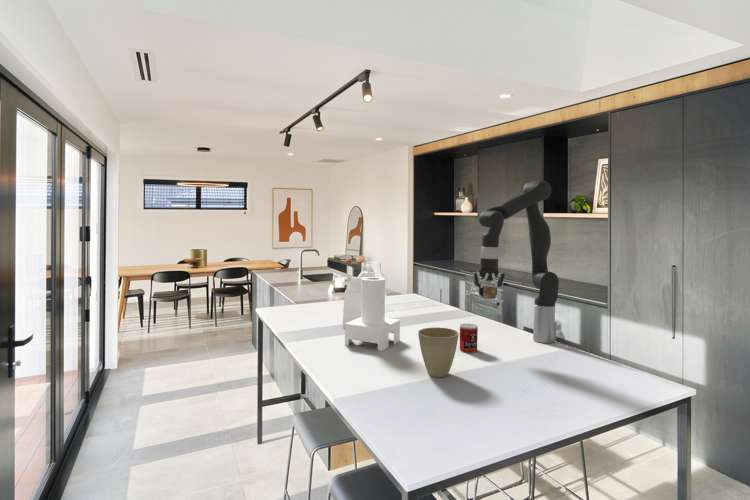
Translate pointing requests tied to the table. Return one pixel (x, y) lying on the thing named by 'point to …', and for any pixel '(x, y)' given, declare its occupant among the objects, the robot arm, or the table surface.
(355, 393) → the table surface
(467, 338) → the canned food
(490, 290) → the walnut cube
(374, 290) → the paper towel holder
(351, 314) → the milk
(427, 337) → the plant pot
